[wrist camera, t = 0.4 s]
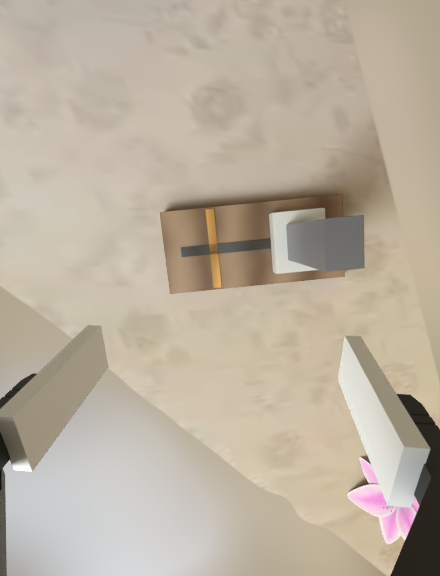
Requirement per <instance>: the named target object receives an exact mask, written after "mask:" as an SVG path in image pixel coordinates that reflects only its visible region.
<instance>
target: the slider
mask: <svg viewBox="0 0 440 576" xmlns="http://www.w3.org/2000/svg"><path fill="white" fill-rule="evenodd" d="M269 222H270V236H271V251H272V266H273V272H274V273H275V274H282V273H292V272H302V271H312V270H321V271H324V272H330V271H340V270H350V269H360V268H364V215H359V216H349V217H339V218H329V219H325V208H316V209H306V210H296V211H286V212H276V213H271V214H269Z"/></svg>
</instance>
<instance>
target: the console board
mask: <svg viewBox="0 0 440 576" xmlns="http://www.w3.org/2000/svg"><path fill="white" fill-rule="evenodd" d="M316 208H325V219H329V218H339V217H343V199H342V194H339V195H329V196H319V197H309V198H299V199H289V200H278V201H268V202H258V203H248V204H238V205H228V206H218V207H208V208H198V209H188V210H178V211H167V212H160V219H161V226H162V234H163V242H164V250H165V258H166V265H167V273H168V281H169V289H170V294H174V293H184V292H194V291H204V290H214V289H224V288H234V287H244V286H254V285H264V284H274V283H285V282H295V281H305V280H315V279H325V278H335V277H345V271H344V270H340V271H330V272H324V271H321V270H312V271H302V272H292V273H282V274H275V273H274V272H273V266H272V251H271V236H270V222H269V214H271V213H276V212H286V211H296V210H306V209H316Z"/></svg>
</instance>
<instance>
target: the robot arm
mask: <svg viewBox="0 0 440 576" xmlns="http://www.w3.org/2000/svg"><path fill="white" fill-rule="evenodd" d="M107 368H108V362H107V356H106V351H105V346H104V340H103V335H102V329H101V326H89V325H88V326H87V327H86V328H85V329H84V330H83V331H82V332H80V333H79V334H78V335H77V336H76V337H75V338H74V339H73V340H72V341H71V342H70V343H69V344H68V345H67V346H66V347H65V348H64V349H63V350H62V351H61V352H60V353H58V354H57V356H55V357H54V358H53V359H52V360H51V361H50V362H49V363H48V364H47V365H46V366H45V367H44V368H43V369H42V370H41V371H40V372H39V373H38V374H31V375H30V376H28V377H27V378H24V379H23V380H21V381H20V382H19V383H18V384H17V385H16V386H15V387H13V388H12V390H10V391H9V392H8V393H7V394H6V395H5V397H3V398H1V399H0V576H7V575H6V520H5V519H6V517H5V516H6V512H5V474H4V471H3V467H4V466H5V464H6V463H7V462H8V461H9V460H10V461H11V463H12V466H13V469H14V470H19V471H30V472H32V471H33V470H34V469H35V467H36V466H37V464H38V463H39V462H40V460H41V459H42V458H43V456H44V455H45V453H46V452H47V451H48V449H49V448H50V447H51V445H52V444H53V442H54V441H55V440H56V438H57V437H58V436H59V434H60V433H61V432H62V430H63V428H64V427H65V426H66V425H67V423H68V422H69V420H70V419H71V418H72V416H73V415H74V414H75V412H76V411H77V409H78V408H79V407H80V405H81V404H82V403H83V401H84V400H85V399H86V397H87V396H88V394H89V393H90V392H91V390H92V389H93V388H94V386H95V385H96V383H97V382H98V380H99V379H100V378H101V376H102V375H103V374H104V372H105V371H106V369H107ZM338 381H339V384H340V386H341V389H342V391H343V394H344V396H345V399H346V402H347V404H348V407H349V409H350V412H351V414H352V417H353V420H354V422H355V425H356V427H357V430H358V432H359V435H360V437H361V440H362V443H363V445H364V448H365V450H366V453H367V455H368V458H369V460H370V463H371V466H372V468H373V471H374V473H375V476H376V478H377V481H378V484H379V486H380V489H381V491H382V494H383V496H384V499H385V501H386V504H387V506H397V507H408V508H411V505H412V502H413V499H414V497H415V498H416V500H417V502H418V504H419V509H418V511H417V513H416V516H415V518H414V521H413V523H412V525H411V528H410V530H409V533H408V535H407V538H406V540H405V542H404V545H403V547H402V550H401V552H400V554H399V557H398V559H397V562H396V564H395V566H394V569H393V571H392V574H391V576H440V429H439V428H438V427H437V426H436V425H435V422H434V421H433V419H432V418H431V417H429V414H428V412H427V411H426V409H425V408H424V407H423V405H422V404H421V403H420V402H418V401H417V400H416V399H415V398H413V397H412V396H411V395H404V394H396V393H395V391H394V389H393V388H392V386H391V385H390V383H389V381H388V380H387V378H386V377H385V375H384V373H383V372H382V370H381V369H380V367H379V365H378V364H377V362H376V361H375V359H374V357H373V356H372V354H371V352H370V351H369V349H368V348H367V346H366V344H365V343H364V341H363V340H362V338H361V336H345V338H344V345H343V351H342V357H341V363H340V370H339V376H338Z"/></svg>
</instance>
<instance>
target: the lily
mask: <svg viewBox="0 0 440 576" xmlns="http://www.w3.org/2000/svg"><path fill="white" fill-rule="evenodd" d="M359 460H360V464H361V467H362V470H363V472H364V475H365V477H366V479H367V481H368V483H369V485H364V486H361V487H359V488H357V489H354V490H352V491H350V492H349V493H348V498H349V499H350V500H351V501H352V502H353V503H354V504H356V505H357V506H358V507H360V508H361V509H363V510H364V511H366V512H368V513H370V514H371V515H374V516H377V517H379V520H380V526H381V530H382V534H383V537H384V540H385V542H386V543H387V544H391V543H393V542H394V541H396V540H397V539H398V538H399V537H400V536H402V537H403V538H404V540H406V538H407V535H408V533H409V530H410V528H411V525H412V523H413V521H414V518H415V516H416V513H417V511H418V509H419V504H418V502H417V500H416V498H415V497H414V499H413V502H412V505H411V508H408V507H397V506H387V504H386V501H385V499H384V496H383V494H382V491H381V489H380V486H379V484H378V481H377V478H376V476H375V473H374V471H373V468H372V466H371V464H369V463H368V462H367V461H366V460H364V459H363V458H361V457H360V458H359Z"/></svg>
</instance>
